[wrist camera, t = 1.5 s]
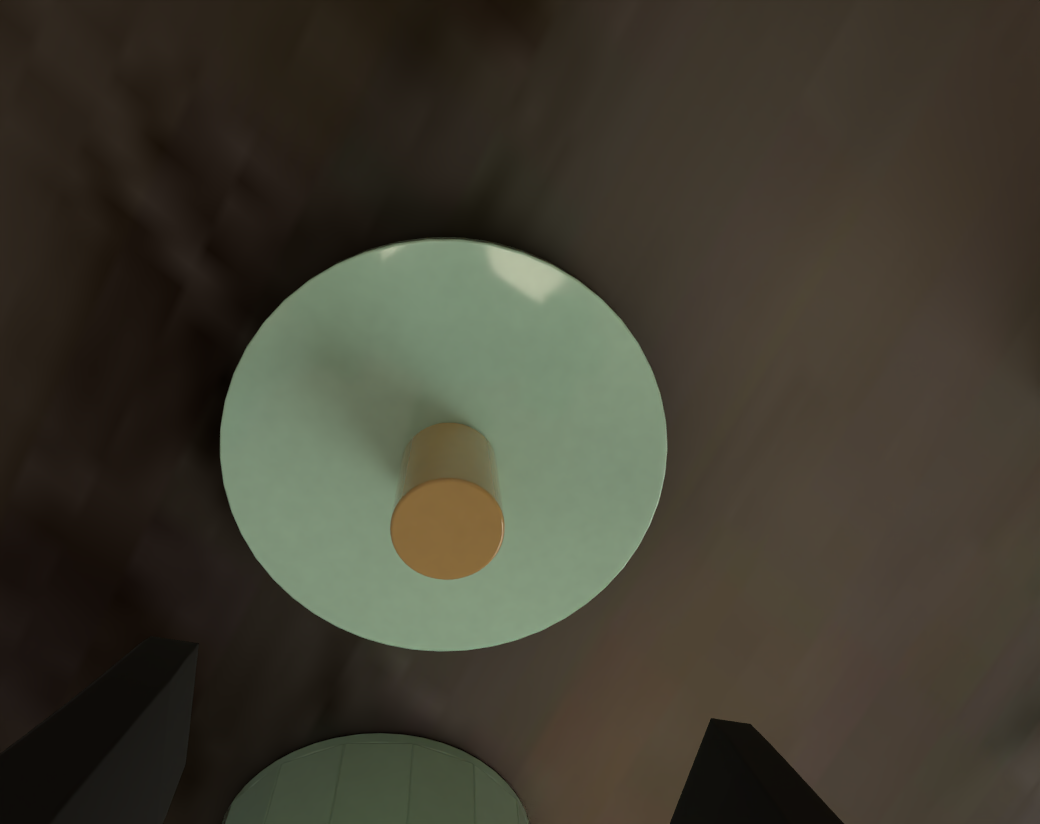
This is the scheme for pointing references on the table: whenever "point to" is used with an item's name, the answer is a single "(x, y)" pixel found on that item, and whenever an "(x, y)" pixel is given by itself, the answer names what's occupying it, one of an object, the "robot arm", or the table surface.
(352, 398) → the lid
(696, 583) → the table surface
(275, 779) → the pot
